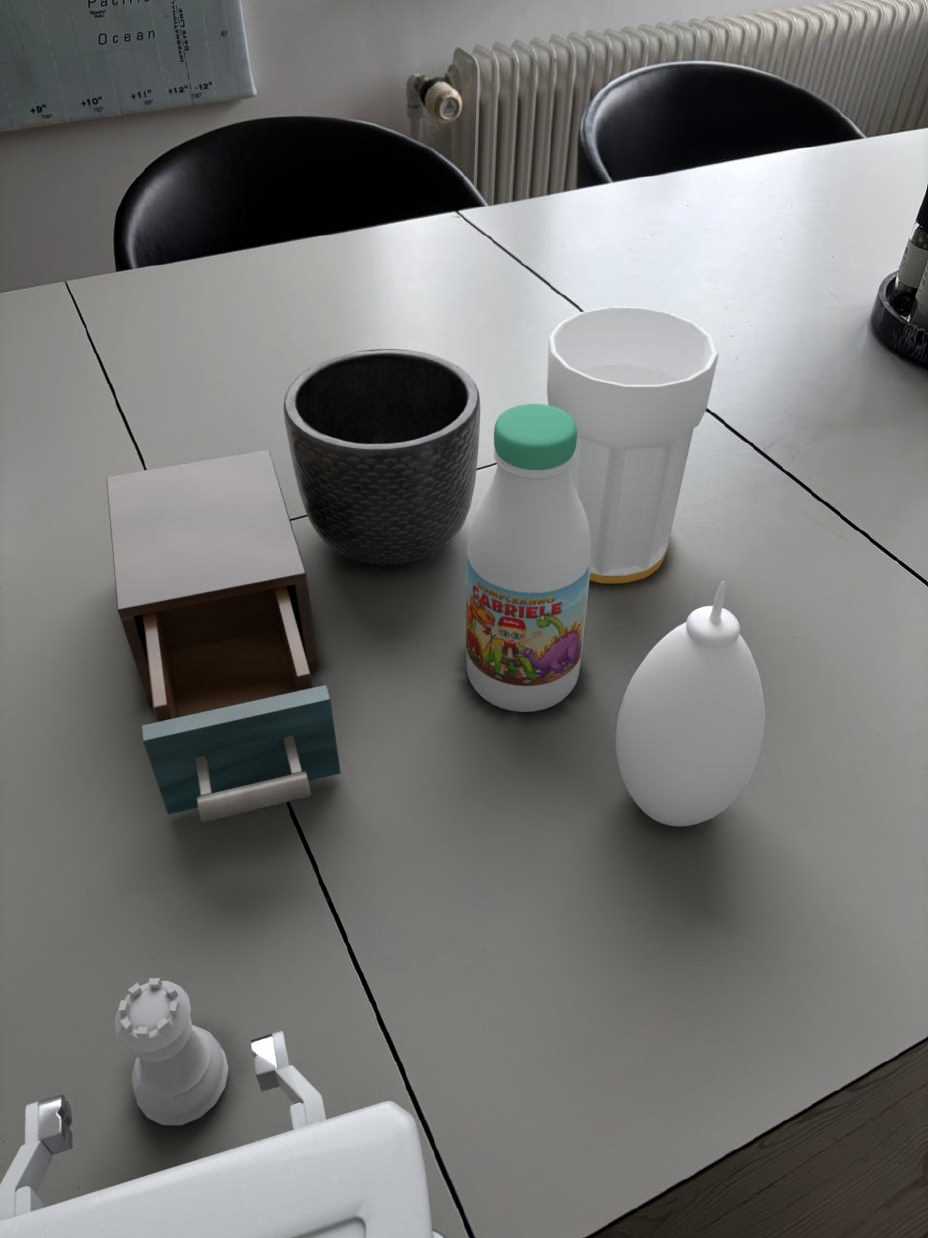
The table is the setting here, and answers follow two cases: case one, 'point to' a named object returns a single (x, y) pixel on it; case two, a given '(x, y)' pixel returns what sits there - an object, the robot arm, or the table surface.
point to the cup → (630, 425)
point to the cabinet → (202, 543)
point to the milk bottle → (528, 565)
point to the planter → (384, 452)
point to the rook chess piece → (169, 1054)
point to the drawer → (234, 707)
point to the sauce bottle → (692, 720)
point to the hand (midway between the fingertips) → (161, 1071)
